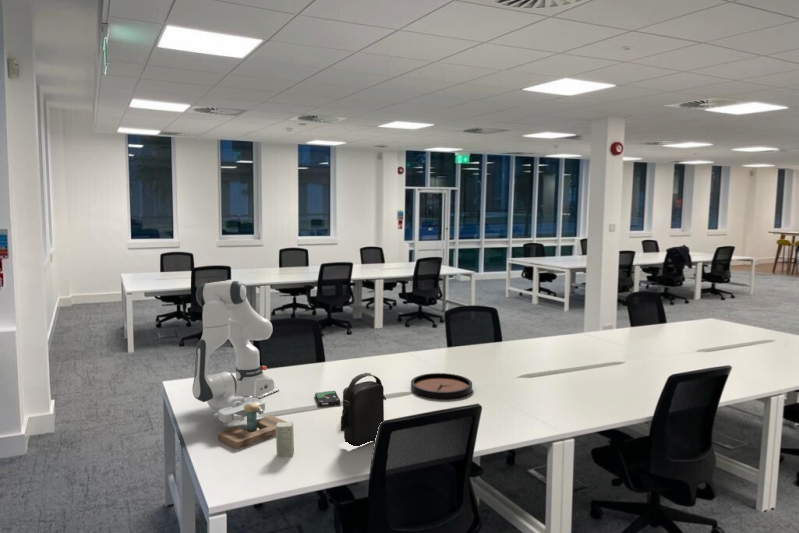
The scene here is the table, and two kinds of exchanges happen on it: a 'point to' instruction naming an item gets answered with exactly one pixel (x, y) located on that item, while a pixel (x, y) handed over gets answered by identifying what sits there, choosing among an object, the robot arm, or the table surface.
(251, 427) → the bobbin
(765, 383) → the table surface
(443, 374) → the wall clock
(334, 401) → the disk drive
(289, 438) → the skincare box
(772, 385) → the table surface
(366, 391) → the shoulder bag
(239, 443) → the notched board
